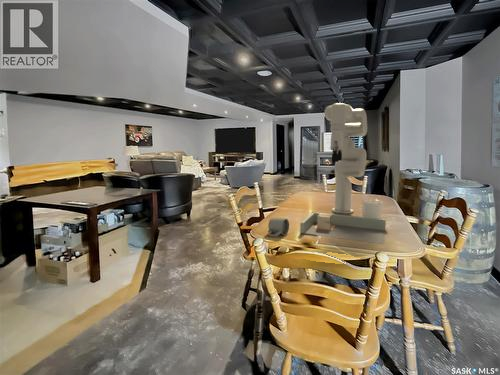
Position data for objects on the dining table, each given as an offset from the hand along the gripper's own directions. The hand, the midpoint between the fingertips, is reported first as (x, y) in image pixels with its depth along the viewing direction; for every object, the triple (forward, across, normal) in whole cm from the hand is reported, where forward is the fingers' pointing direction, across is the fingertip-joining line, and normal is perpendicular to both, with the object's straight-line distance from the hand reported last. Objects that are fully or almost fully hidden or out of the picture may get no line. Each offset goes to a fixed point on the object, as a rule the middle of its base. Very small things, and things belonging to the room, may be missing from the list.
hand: (336, 161), depth 147 cm
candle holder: (+33, -4, +18) cm, 38 cm away
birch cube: (+32, +15, -2) cm, 36 cm away
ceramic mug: (+33, +33, -21) cm, 51 cm away
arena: (+33, +17, +7) cm, 38 cm away
